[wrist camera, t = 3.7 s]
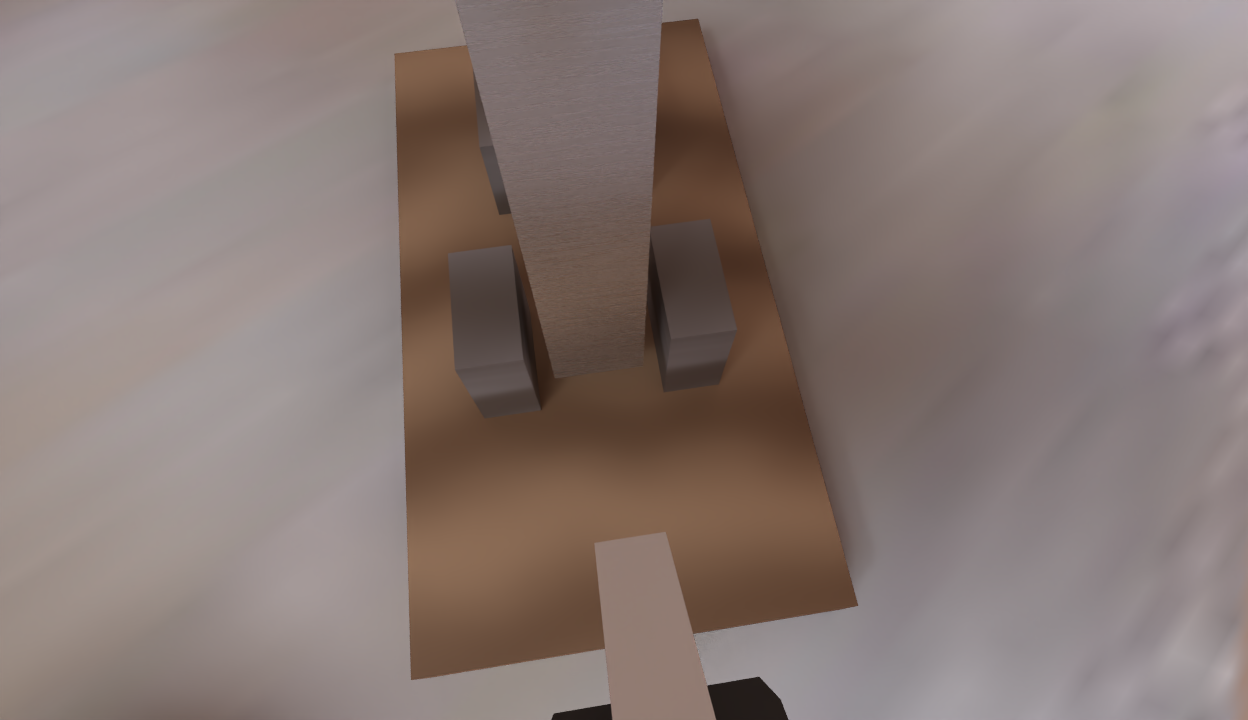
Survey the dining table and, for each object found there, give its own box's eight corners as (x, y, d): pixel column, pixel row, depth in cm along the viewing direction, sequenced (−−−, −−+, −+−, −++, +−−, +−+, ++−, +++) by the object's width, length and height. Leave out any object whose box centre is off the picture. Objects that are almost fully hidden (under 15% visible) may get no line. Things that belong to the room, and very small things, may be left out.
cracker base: (840, 609, 23) (960, 584, 15) (428, 677, 23) (309, 692, 14) (694, 53, 33) (716, -149, 25) (407, 87, 33) (331, -110, 24)
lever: (659, 377, 23) (763, -503, 5) (541, 394, 23) (257, -466, 5) (640, 275, 24) (674, -661, 7) (530, 290, 24) (281, -639, 7)
